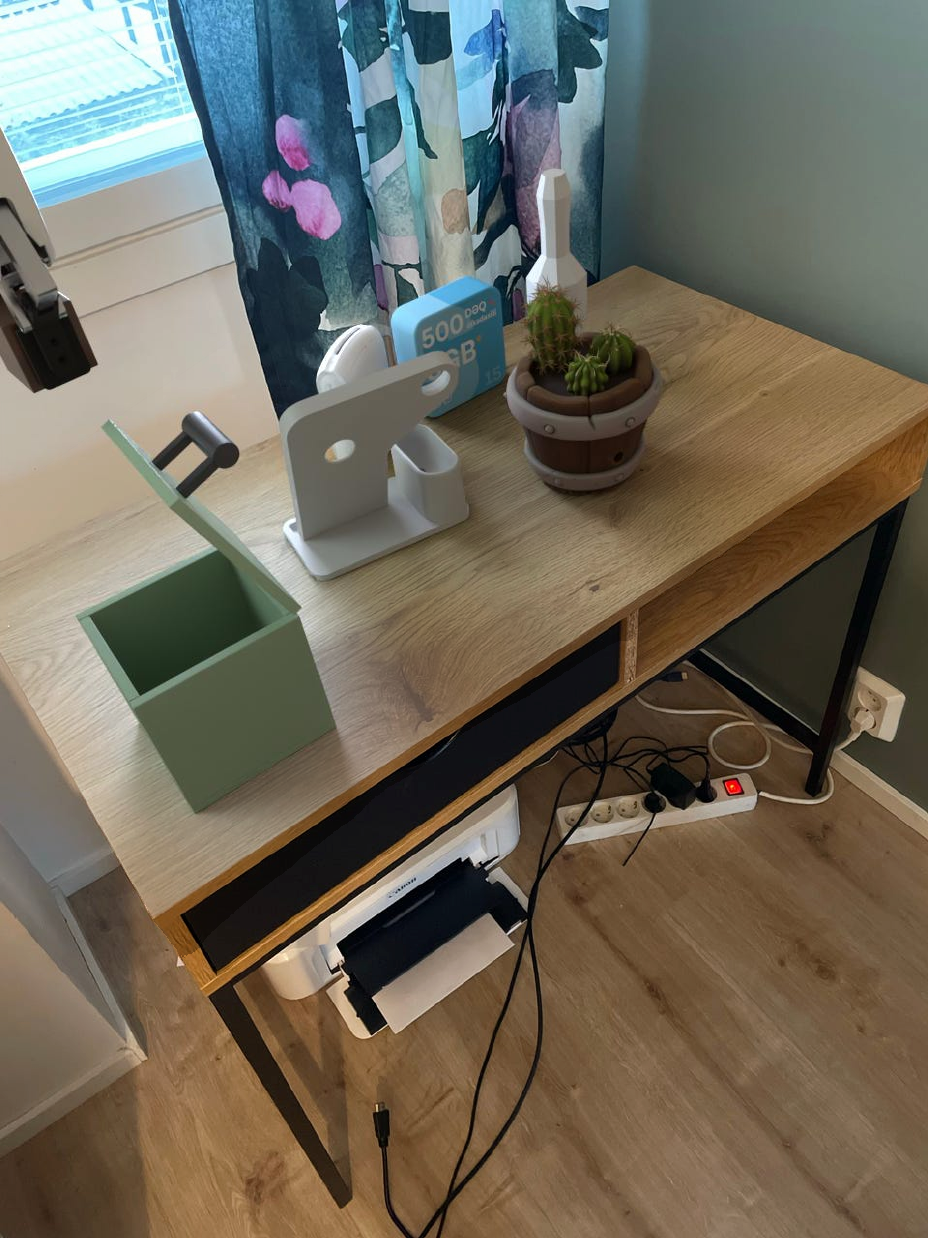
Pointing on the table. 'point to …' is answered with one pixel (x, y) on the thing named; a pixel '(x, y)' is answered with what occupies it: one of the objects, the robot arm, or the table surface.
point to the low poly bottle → (557, 245)
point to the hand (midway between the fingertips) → (50, 363)
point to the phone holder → (371, 467)
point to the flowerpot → (581, 398)
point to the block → (7, 345)
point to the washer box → (211, 673)
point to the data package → (455, 335)
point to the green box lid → (180, 494)
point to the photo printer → (351, 365)
